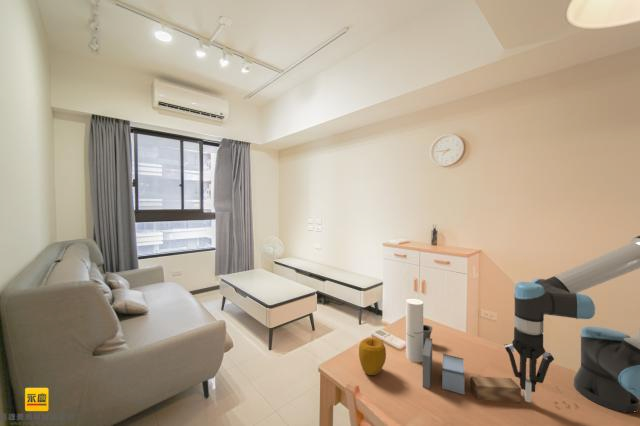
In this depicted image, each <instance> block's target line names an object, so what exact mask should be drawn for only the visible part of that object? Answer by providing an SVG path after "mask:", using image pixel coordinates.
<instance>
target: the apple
mask: <svg viewBox="0 0 640 426" xmlns="http://www.w3.org/2000/svg"><path fill="white" fill-rule="evenodd" d="M358 358H359V362H360V366H361V369H362V370H363V372H364V373H365V374H366V375H369V376H375V375H378V374H379V373H380V372H381V371H382V368H383V367H384V365H385V362H386V359H387V350H386V346H385V344H384V342H383V341H382V340H380V339H379V338H375V337H367V338H364V339H363V340H361V341H360V343H359V347H358Z"/></svg>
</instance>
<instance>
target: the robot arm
mask: <svg viewBox="0 0 640 426" xmlns="http://www.w3.org/2000/svg"><path fill="white" fill-rule="evenodd" d="M638 269H640V235H638V236H635V237H633V238H631V239H630V243H628V244H626V245H623V246H620V247H619V248H617V249H613V250H612V251H610V252H606V253H604V254H603V255H600V256H597V257H595V258H593V259H590V260H588V261H586V262H584V263H581V264H579V265H577V266H574V267H572V268H570V269H567V270H565V271H562V272H560V273H559V274H556V275H553V276H551V277H549V278H545V279H544V278H535V279H532V280H531V281H518V282H517V283H516V284H515V286H514V293H513V296H514V321H513V325H514V327H513V340H512V342H511V344H504V345H503V346H504V348H505V350H506V352H507V354H508V357H509V361H510V365H511V368H512V372H513V374H514V377H515V378H519V387H520V388H521V390H523V398H524V401H525V402H527V403H532V393H535V392H536V385H537V383H539V384H543V382H544V380H545V378H546V375H547V372H548V369H549V367H550V364H551V363H553V361H555V358H554V356H553V354H551V353H550V352H547V351H546V349H545V348H544V321H545V318H544V316H545V315H546V316H554V317H563V318H569V319H570V318H572V319H576V320H580V319H581V320H582V319H583V320H590V319H592V318H593V317H595V314H596V306H595V305H596V304H595V303H594V301H593V300H592V298H591V297H590V296H589V295H587V294H584V293H583V294H582V293H580V292H583V291H585V290H588V289H591V288H593V287H595V286H598V285H601V284H604V283H607V282H608V281H611V280H614V279H615V278H618V277H621V276H624V275H626V274H628V273H632V272H634V271H636V270H638ZM514 349H515V351H516V352H517V354H518V355H519V370H518V365H517V363H516V360H515V359H516V358H515V355H514ZM541 356H542V359H541V361H540V364H539V366H538V370H537V363H538V362H537V360H538V359H539V358H540V357H541ZM528 359H529V363H528V366H529V367H528V368H529V369H528V374H529V375H528V376H529V377H527V360H528ZM573 388H574V389H575V390H576V391H577V392H578V393H579V394H581V395H582V396H584V397H585V398H587V400H590V401H592V402H594V403H596V404H598V405H600V406H602V405H603V406H602V407H604V408H607V407H608V409H610V408H611V410H613V409H614V410H613V411H617V410H618V411H617V412H621V411H626V412H625V413H628V412H633V413H635V412H634V411H637V410H638V411H639V410H640V328H639V330H638V331H637V332H636V334H635V336H633V337H631V336H630V335H629V334H627V333H624V332H622V331H619V330H614V329H609V328H605V327H598V326H584V327H582V328H581V333H580V367H579V369H578V370H577V371H576V374H575V376H574V378H573ZM638 411H637V412H638Z"/></svg>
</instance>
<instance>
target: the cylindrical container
mask: <svg viewBox="0 0 640 426" xmlns="http://www.w3.org/2000/svg"><path fill="white" fill-rule="evenodd" d="M423 325H424V301H423V300H422V299H418V298H407V299H405V347H406V348H405V357H406V359H407V360H409V361H411V362H412V363H413V362H414V363H421V362H422V363H423V350H424V345H423Z"/></svg>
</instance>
